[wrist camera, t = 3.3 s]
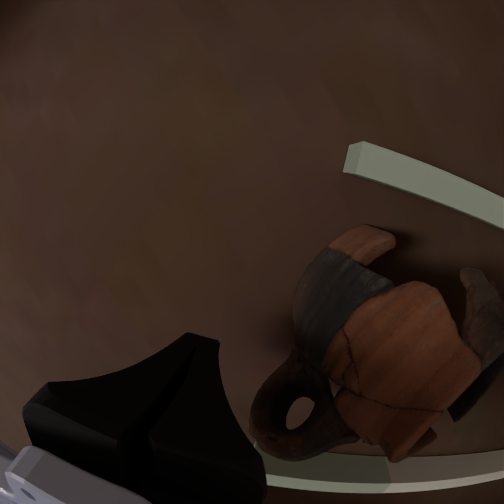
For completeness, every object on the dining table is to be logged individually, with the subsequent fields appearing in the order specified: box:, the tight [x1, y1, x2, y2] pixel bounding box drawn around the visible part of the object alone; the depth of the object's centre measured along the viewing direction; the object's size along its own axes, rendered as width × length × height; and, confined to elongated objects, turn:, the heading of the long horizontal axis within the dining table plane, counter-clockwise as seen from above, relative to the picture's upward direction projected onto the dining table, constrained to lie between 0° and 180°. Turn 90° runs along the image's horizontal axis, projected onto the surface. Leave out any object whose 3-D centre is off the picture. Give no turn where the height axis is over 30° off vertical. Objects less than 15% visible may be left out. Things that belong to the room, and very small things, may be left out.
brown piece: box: [249, 224, 504, 463], centre depth 13 cm, size 12×10×8 cm
